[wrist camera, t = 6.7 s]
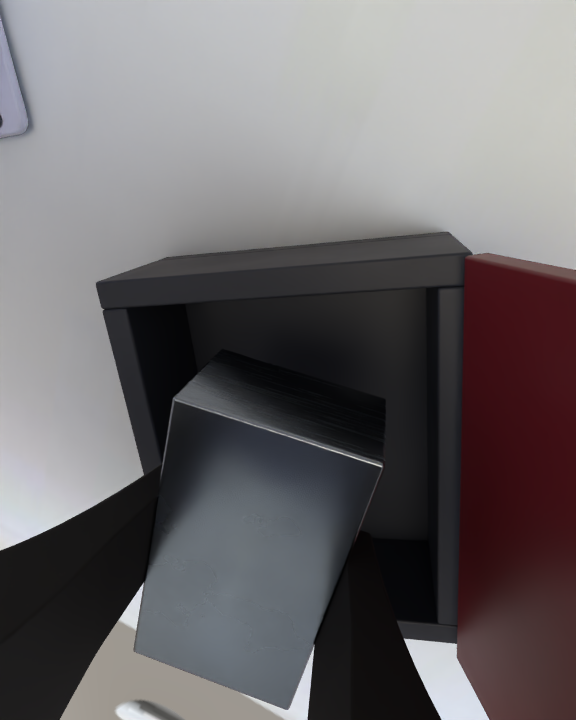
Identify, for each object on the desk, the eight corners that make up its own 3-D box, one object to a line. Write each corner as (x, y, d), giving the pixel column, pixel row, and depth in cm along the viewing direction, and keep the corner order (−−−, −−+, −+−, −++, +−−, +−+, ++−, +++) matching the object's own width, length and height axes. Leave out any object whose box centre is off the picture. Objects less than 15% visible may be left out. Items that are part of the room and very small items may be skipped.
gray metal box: (178, 566, 15) (132, 652, 12) (221, 347, 12) (171, 396, 9) (307, 613, 15) (288, 712, 12) (386, 398, 12) (386, 466, 9)
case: (220, 531, 21) (179, 616, 17) (166, 257, 17) (93, 282, 13) (446, 543, 19) (463, 645, 15) (449, 231, 15) (473, 252, 11)
